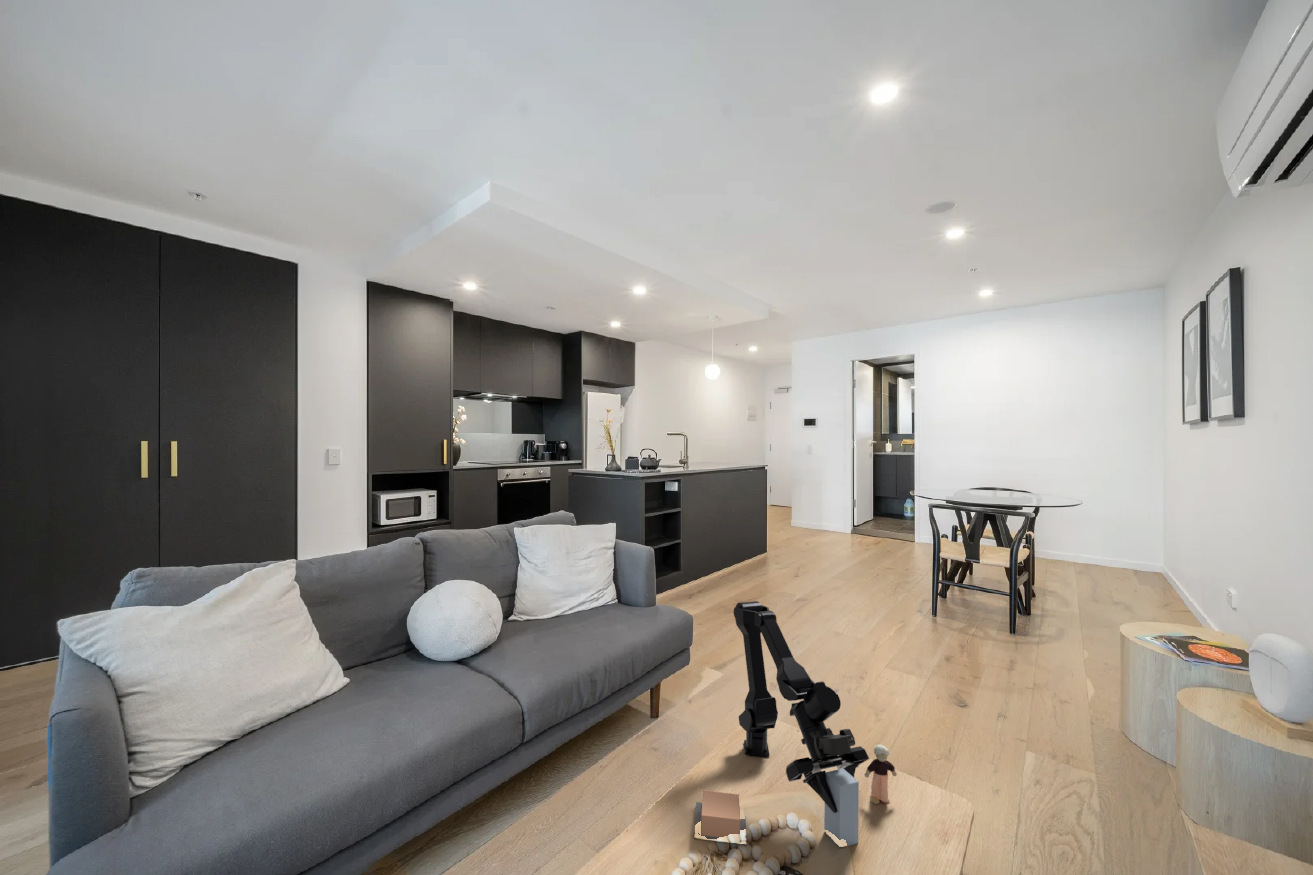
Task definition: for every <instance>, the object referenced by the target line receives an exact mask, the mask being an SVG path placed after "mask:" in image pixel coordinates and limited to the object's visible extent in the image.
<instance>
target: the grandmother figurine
mask: <svg viewBox="0 0 1313 875" xmlns="http://www.w3.org/2000/svg"><path fill="white" fill-rule="evenodd" d="M873 754H874V755H875V759H873V760H872V761H871V762H870V763H869V765H868V766H867V767H866V771H865V773H864V775H863V776H864V777H865V778H869V777H870V775H871V773H873V776H872V781H871V787H870V789H871V791H870V796H869V800H870V802H871V803H872V804H875V805H877V804H878V805H879V804H880V802H881V803H883V804H890V802H891V801H890V799H889V791H888V789H889V788H888V787H889V785H888V784H889V782H888V779H889V777H888V776H889V774H888V771H890V772H891V775H892V776H893V777H896V776H897V775H898V774H897V772H896V769H895V766H894V765H893V763H892V762H890V761H888V760H887V759H888V756H889V755H890V752H889V749H888V748H887V747H886V746H884V745H883V744H877V745H876V744H875V746H874V747H873Z"/></svg>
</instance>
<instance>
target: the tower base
mask: <svg viewBox="0 0 1313 875" xmlns="http://www.w3.org/2000/svg"><path fill="white" fill-rule="evenodd" d="M701 798H702V801H701V802H700V801H699V802H698V801H696V802H695V811H694V812H695V814H694V815H695V816H694V826H695V825H696V824H697V823H698V822H700V821H701V836H705V837H706V838H707V839H717V838H719V837H724V836H728V835H729V834H740V830H744V829H746V830H747V819H746V818H747V817H745V819H740V807H741V806H740V794H739V793H730V792H729V793H728V792H722V791H721V792H719V791H713V790H712V791H711V790H702V797H701ZM698 834H699V833H698ZM699 835H700V834H699Z"/></svg>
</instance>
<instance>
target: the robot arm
mask: <svg viewBox="0 0 1313 875" xmlns="http://www.w3.org/2000/svg"><path fill="white" fill-rule="evenodd" d="M733 616H734V620H735V626H736V627H737V628H738V630H739V631H740V632H741V634H742V638H743V644H744V656H745V663H746V673H747V682H748V683H747V684H748V692H747V695H746V696H745V697H746V698H745V699H744V710H743V711H742V712H741V714H739V715H738V721H739V723H738V724H739V726H740V727H741V728H742V729H743V730H744V731H745V735H746V736H745V740H743V744H744V745H743V747H744V754H745V755H746V756H757V757H764V758H766V757H767V758H770V750H769V744H768V730H769V729H775V727H776V723H777V720H778V717H779V716H778V714H779V712H778V708H777V700H776V697H775V696H772V695H771V693H770V692H769V690H768V684H767V678H766V677H767V676H766V670H765V669H766V668H765V659H764V652H763V642H762V637H763V639H764V642H765V644H766V646H767V648H768V651H769V653H770V656H771V658H772V660H773V662H774V664H775V668H776V682H777V686H778V690H779V693H780V695H781V696H782V697H783V699H784V700H787V701H788V702H791V701H794V702H792V703H791V706H790V707H791V708H790V710H789V716H790V717H793V716H794V717H795V719H796V722H797V725H798V727H799V730H800V732H801V734H802V737H803V738H802V739H801V740H800V741H801V744H802V745H804V746H805V745H806V748H807V751H808V753H809V755H810V757H808V756H807V757H802V758H797V759H794V760H793V761H791V763H789V764H787V765H786V767H785V774H786V777H787V781H788V782H794V781H799V780H801V779H802V777H803V776H804V779H803V780H802V783H803V784H807V786H809V787H810V788H811V789H812V790H814V792H815V793H816V794H817V795H818V797H819V798H821V800H822V801H823V802H824V804H825V803H826V804H827V805H828V807H829V808H830V809H831V810H832V811H833V813H836V812H837V808H836V804H835V801H834V799H833V797H832V794H831V792H830V789H829V787H828V784H827V782H826V772H827V771H826V769H831V768H837V770H838V769H844V770H845V771H847V772H848V773H849V774H850V775H851V776H852V777H854V778H855V773H856V769H857V768H859V766H860V765H862V764H863V763H865V762H867V761H869V760H870V757H869V754H868V753H867V751H866V749H865V748H863V746H856V747H855V745H856V739H855V736H854V734H853V733H852V731H851V729H850V728H844V729H840V730H839V733H838V734H834V733H833V731H832V729H831V728H830V727H826V724H825V721H827V720H828V719H829V718H831V717H832V716H833V715H835V714H836V713H837V712H838V711H840V709H841V699H840V696H839V695H838V693H837V692H835V690H833V689H832V688H831V687H829V686H827V685H826V683H825V681H817V682H815V681H813V680H812V678H811V677H810V675H809V674H808V672H807V670H806V669H805V667H804V666H802V665H801V664H800V663H799V662H797V661H796V660H795V658H794V656H793V654H792V651H791V650H790V647H789V645H788V643H787V641H786V639H785V637H784V633H783V632H782V630H781V628H780V626H779V624H778V620H777V615H776V613H775V612H774V611H772V610H770V608H769V607H768V606H765V605H763V604H761V603H760V602H759V601H757V600H753V601H741V602H737V603H736V605H735V607H734V608H733ZM795 701H799V702H795ZM853 746H854V747H853Z"/></svg>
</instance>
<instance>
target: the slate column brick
mask: <svg viewBox="0 0 1313 875" xmlns="http://www.w3.org/2000/svg"><path fill="white" fill-rule="evenodd" d="M826 782H827V784H828V787H829V789H830V792H831V794H832V797H833V799H834V801H835V804H836V808H837V812H836V813H833V811H832V810H831V809H830V808H829V807H828V805H827V804H826V803H825V802H824V817H823V818H824V819H823V820H824V821H823V822H824V824H823V825H824V829H825V830H828V831H829V832H831V833H832V834H834V835H835V836H836V837H837V838H838V839H839V840H841V839H844V840H846V843H847V847H850V846H853V845H857V844H859V806H860V805H859V804H860V803H859V801H860V800H859V793H860V792H859V791H860V789H859V786H860V785H859V784H860V783H859V781H858V780H857V778H856V777H855V776H854V777H852V776H851V775H850V774H849V773H848V772H847V771H845V770H844V769H838V768H837V769H834V770H830V771H826Z"/></svg>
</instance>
